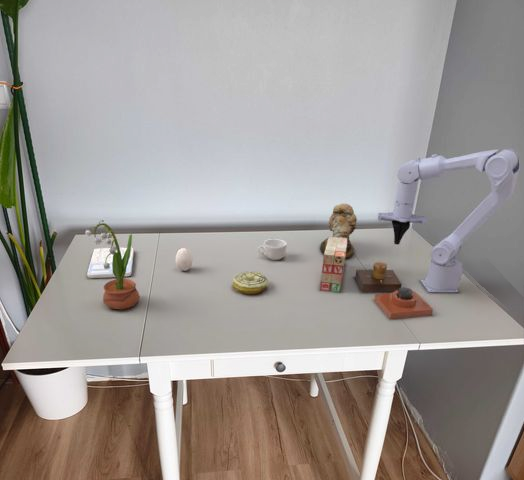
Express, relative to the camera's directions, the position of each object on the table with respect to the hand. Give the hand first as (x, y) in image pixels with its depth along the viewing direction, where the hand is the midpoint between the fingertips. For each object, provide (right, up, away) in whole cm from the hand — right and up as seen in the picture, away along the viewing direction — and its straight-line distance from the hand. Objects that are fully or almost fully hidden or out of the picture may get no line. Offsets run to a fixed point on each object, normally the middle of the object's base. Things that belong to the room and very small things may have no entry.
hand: (396, 243), depth 160 cm
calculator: (-92, -6, +4) cm, 93 cm away
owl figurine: (-16, +1, +20) cm, 26 cm away
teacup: (-40, -3, +12) cm, 42 cm away
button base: (-2, -21, -14) cm, 25 cm away
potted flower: (-84, -21, -17) cm, 88 cm away
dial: (-7, -11, -4) cm, 14 cm away
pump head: (-2, -18, -16) cm, 24 cm away
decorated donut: (-47, -15, -6) cm, 49 cm away
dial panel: (-7, -14, -2) cm, 15 cm away
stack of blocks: (-20, -11, +2) cm, 23 cm away
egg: (-68, -8, +2) cm, 69 cm away
